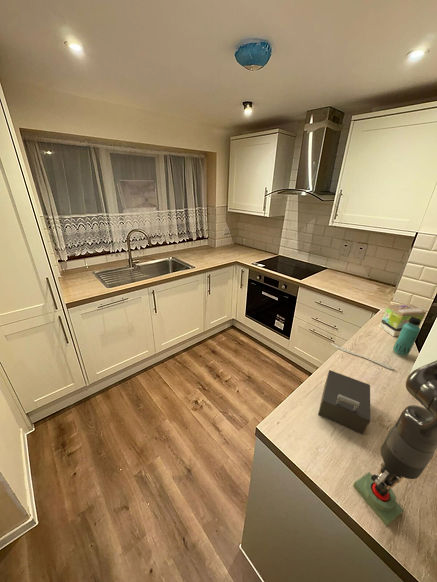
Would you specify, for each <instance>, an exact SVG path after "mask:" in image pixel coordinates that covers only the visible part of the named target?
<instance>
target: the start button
mask: <svg viewBox="0 0 437 582" xmlns="http://www.w3.org/2000/svg"><path fill="white" fill-rule="evenodd" d="M375 486H376V483H374V484H373V486H372V488H371V489H372V492H373V494H374V495H375V496H376V497H377V498H378V499H379V500H381V501H383V502H387V501H388V499H389V493H387V494H386V495H385V496H384V497H383V496H381V495H380V494H379V493H378V491H377V490H376V489H375Z"/></svg>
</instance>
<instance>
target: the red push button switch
mask: <svg viewBox="0 0 437 582" xmlns="http://www.w3.org/2000/svg"><path fill="white" fill-rule="evenodd" d="M372 475H373V474H372V473H371V472H370V471H369V472H367V473H366V474H364V475H363V476H361V477H360V478H359V479H357V480H356V481H355V482H354V483H353V485H352V486H353V488H354V489H355V490H356V491H357V493H358V494H359V495H360V497H361V498H362V499H363V500H364V501H365V502H366V504H367V505H368V506H369V507H370V508H371V510H372V511H373V513H375V514H376V516H377V517H378V518H379V519H380V520H381V522H382V523H383V525H385V527H388V526H389V525H390V524H391V523H393V521H395V520H396V519H397V518H398V517H400V516H401V515H402V513H403V512H404V511H405V510H404V509H403V507H402V506H401V505H400V504H399V503H398V502H397V496H396V494H395V493H394V491H393V488H391V489H390V490H389V492H388V493H389V499H388V501H387V502H383V501H381V500H379V499H378V498H377V497H376V496H375V495H374V494H373V492H372V489H371V488H372V486H373V484H374V483H375V482H374V481H373V480H372V479H371V476H372Z"/></svg>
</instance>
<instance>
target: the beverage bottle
mask: <svg viewBox="0 0 437 582" xmlns="http://www.w3.org/2000/svg"><path fill="white" fill-rule="evenodd" d="M420 322H421V320H420V319H418V318H415V317H411V318H410V319H409V323H406V324H404V325H403V328H402V330H401V332H400V335H399V336H397V339H396V341H395V342H394V344H393V347H392V350H393V352H395V353H396V354H397V355H400V356H404V357H405V356H407V357H408V355H409V354H410V352H411V351H412V348H413V347H414V344H415V342H416V340H417V339H418V336H419V333H420V332H421V327H420V326H421V324H420ZM421 323H422V322H421ZM417 325H420V326H419V327H418V326H417Z"/></svg>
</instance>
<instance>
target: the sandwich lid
mask: <svg viewBox="0 0 437 582" xmlns="http://www.w3.org/2000/svg"><path fill="white" fill-rule="evenodd" d="M327 376H328V377H326V379H327V382H326V381H325V382H326V387H325V391H324V396H323V401H322V404H324V405H326V406H328V407H331V408H333V409H335V410H338V411H340V412H342V413H345V414H347V415H349V416H351V417H354V418H356V419H358V420H361V421H363V422H365V423H368V425H370V423H371V384H369V383H366V382H363V381H361V380H358V379H356V378H353V377H351V376H347V375H344V374H341V373H339V372H336V371H334V370H331V369H329V370H328V373H327Z"/></svg>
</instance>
